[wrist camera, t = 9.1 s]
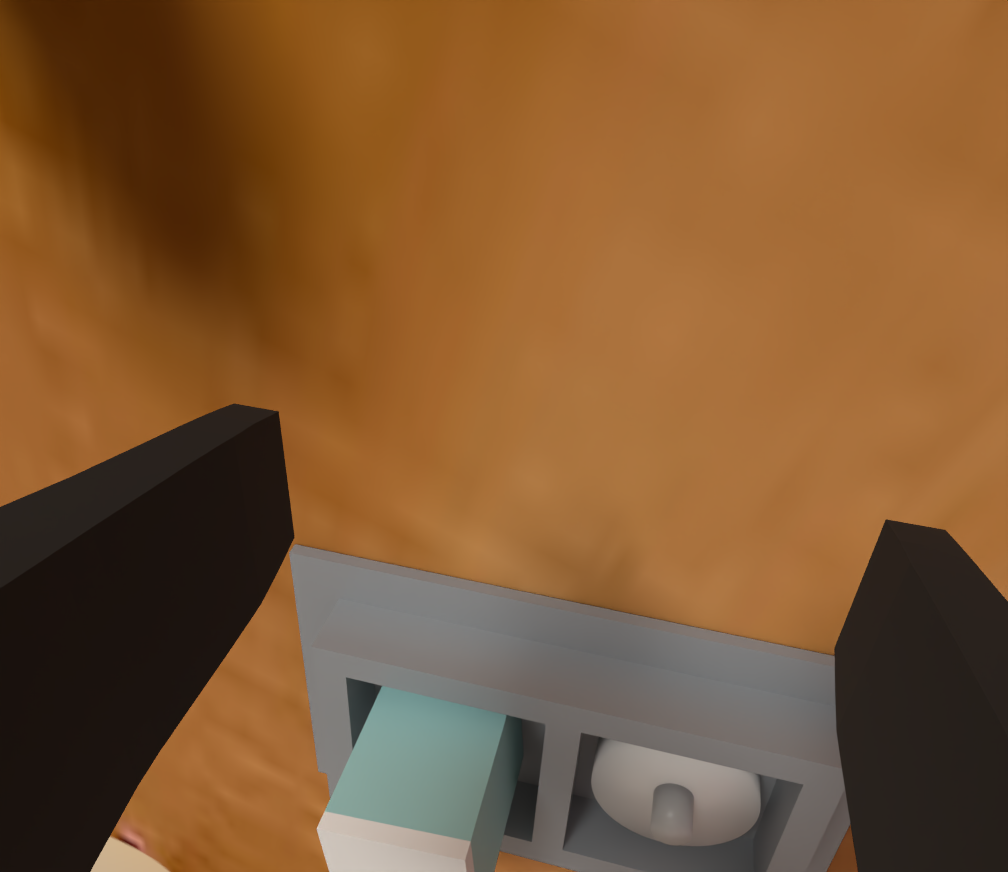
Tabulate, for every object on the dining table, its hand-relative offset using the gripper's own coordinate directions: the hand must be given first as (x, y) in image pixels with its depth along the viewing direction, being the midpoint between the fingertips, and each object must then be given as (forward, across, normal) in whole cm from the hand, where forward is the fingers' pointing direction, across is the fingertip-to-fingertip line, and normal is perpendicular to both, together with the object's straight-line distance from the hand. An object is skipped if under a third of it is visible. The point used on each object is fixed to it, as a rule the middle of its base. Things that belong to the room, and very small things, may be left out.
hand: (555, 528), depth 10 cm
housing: (+9, 0, +16) cm, 19 cm away
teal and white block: (+9, +4, +16) cm, 19 cm away
